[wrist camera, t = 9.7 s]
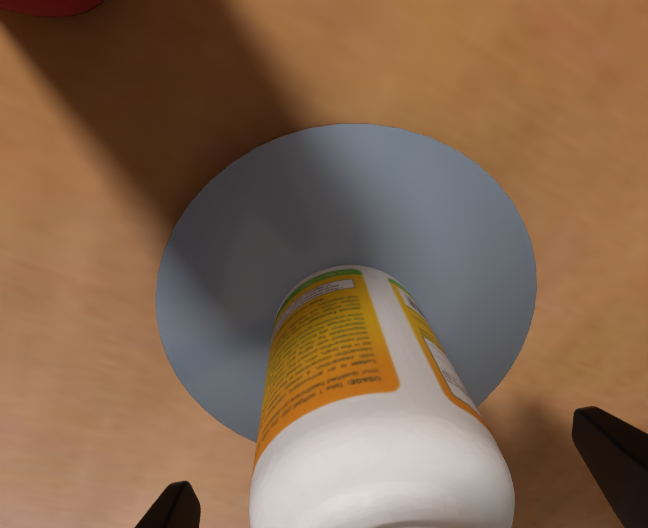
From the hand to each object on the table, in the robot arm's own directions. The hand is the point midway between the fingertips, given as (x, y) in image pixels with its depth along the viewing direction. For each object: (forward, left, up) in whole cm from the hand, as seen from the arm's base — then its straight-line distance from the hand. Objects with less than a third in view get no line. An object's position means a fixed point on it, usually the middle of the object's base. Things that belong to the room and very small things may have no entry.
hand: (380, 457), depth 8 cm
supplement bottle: (0, 0, -6) cm, 6 cm away
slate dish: (0, 0, -7) cm, 7 cm away
